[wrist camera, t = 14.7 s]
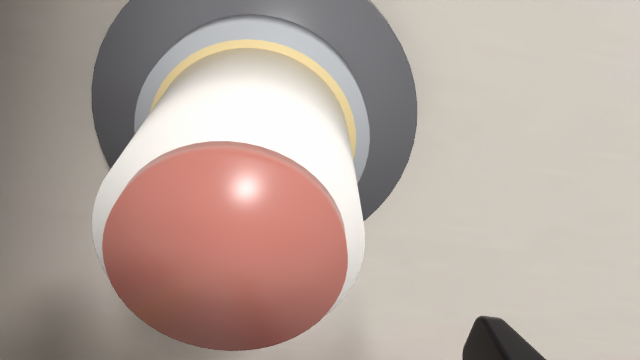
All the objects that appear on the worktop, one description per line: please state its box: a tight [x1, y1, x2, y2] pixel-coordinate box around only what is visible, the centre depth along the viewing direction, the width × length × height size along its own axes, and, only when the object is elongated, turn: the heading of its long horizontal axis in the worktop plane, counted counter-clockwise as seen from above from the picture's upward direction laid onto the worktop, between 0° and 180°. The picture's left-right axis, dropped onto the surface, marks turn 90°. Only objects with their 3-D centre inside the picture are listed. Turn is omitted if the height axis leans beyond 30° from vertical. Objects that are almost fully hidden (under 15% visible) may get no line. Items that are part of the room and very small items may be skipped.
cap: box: [92, 48, 365, 351], centre depth 13 cm, size 6×6×6 cm
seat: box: [92, 0, 417, 221], centre depth 16 cm, size 10×10×2 cm
